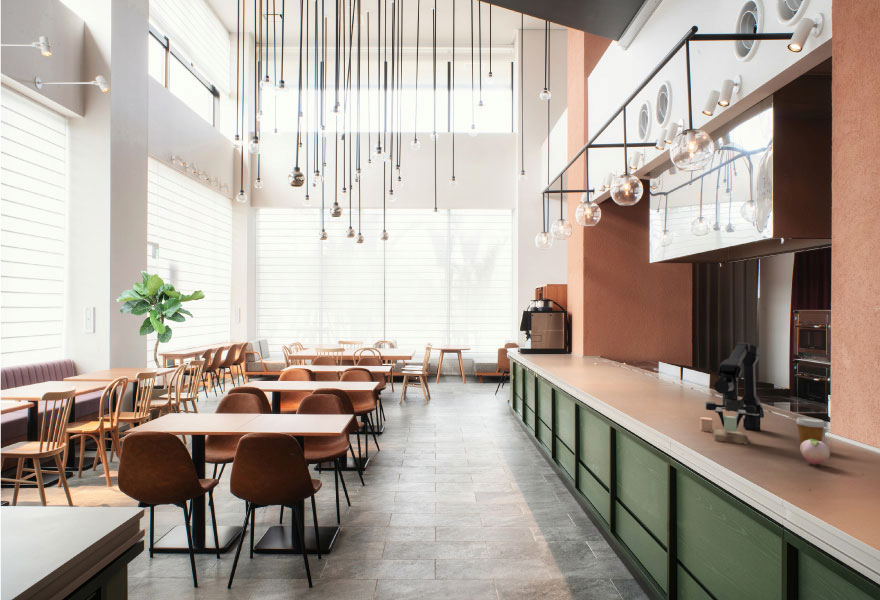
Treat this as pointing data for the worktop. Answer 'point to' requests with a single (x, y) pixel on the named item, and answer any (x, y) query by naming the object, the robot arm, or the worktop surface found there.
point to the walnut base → (730, 436)
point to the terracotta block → (706, 424)
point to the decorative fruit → (814, 451)
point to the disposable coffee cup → (809, 428)
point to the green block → (730, 423)
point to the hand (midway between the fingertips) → (729, 427)
